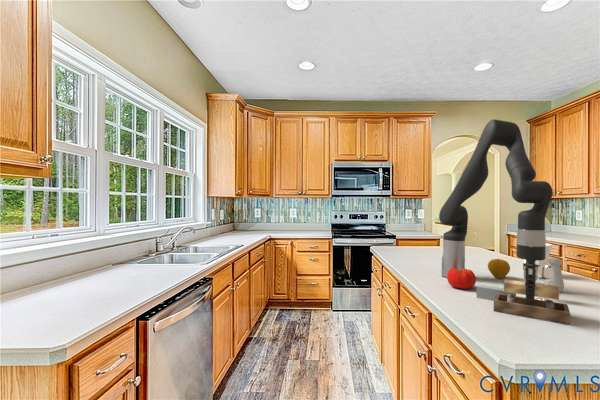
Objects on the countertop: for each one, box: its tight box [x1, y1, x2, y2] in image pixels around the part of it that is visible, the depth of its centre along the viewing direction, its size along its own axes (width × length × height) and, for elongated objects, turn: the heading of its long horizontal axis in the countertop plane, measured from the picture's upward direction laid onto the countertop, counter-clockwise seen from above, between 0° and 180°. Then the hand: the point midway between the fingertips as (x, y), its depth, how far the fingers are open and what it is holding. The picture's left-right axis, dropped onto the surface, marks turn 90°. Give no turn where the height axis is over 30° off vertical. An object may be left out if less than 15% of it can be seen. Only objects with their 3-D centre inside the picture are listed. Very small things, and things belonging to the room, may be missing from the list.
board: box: [503, 279, 560, 301], centre depth 103 cm, size 14×5×3 cm, turn 54°
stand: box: [476, 283, 517, 301], centre depth 117 cm, size 12×4×4 cm, turn 54°
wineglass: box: [535, 265, 554, 301], centre depth 118 cm, size 6×6×12 cm
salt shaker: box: [545, 257, 565, 294], centre depth 128 cm, size 6×6×13 cm
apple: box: [487, 258, 511, 279], centre depth 150 cm, size 9×9×9 cm
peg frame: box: [493, 293, 571, 326], centre depth 103 cm, size 19×10×4 cm, turn 54°
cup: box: [523, 242, 553, 266], centre depth 155 cm, size 12×12×15 cm
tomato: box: [446, 268, 477, 290], centre depth 133 cm, size 11×11×8 cm
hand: (530, 296), depth 103 cm, fingers closed on board, 5 cm apart
